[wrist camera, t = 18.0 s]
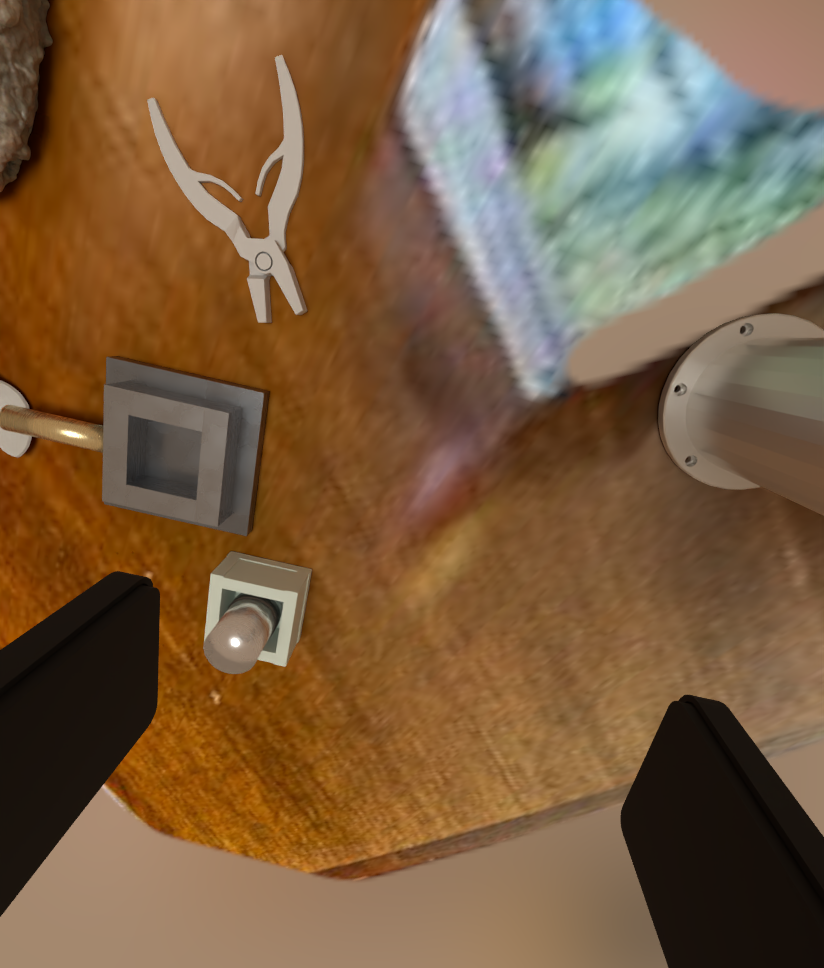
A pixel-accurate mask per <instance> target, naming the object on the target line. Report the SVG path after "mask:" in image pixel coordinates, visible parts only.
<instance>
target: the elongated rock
mask: <svg viewBox="0 0 824 968" xmlns="http://www.w3.org/2000/svg"><path fill="white" fill-rule="evenodd" d="M49 7H50V4H49V2H48V0H0V192H2V191H3V189H4V187H5V185H6V184H7V183H8V182H13V181H14V180H15V179H16V178H17V176H16V174H17V173H18V172H19V169H20V165H21V163H22V160H29V159H30V157H31V150H30V147H29V146H28V144H27V143H28V138H29V136H30V134H31V132H32V128H33V123H34V117H35V112H36V111H37V109H38V101H37V98H38V82H39V79H40V75H39V63H41V61H42V60H43V57H44V54H45V52H44V48H45V47H48V46H50V45H52V42H53V41H52V38H51V36H50V34H49V31H48V27H47V24H46V15H47V11H48V9H49Z"/></svg>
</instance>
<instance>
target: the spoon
mask: <svg viewBox="0 0 824 968" xmlns="http://www.w3.org/2000/svg"><path fill="white" fill-rule="evenodd" d="M7 404H8V405H15V406H19V407H23V408H28V409H30V408H29V405H28V403H27V402H26V400H25V399H24V397H23V396H22V395H21V393H20V392H19V391H17V390H16V389H15V388H14V387H12V386H11V385H10V384H8V383H5V382H3V381H1V380H0V412H1V409H2V408H3V407H4V406H5V405H7ZM31 439H32V436H28V435H23V434H19V433H14V432H10V431H6V430H3V429H2V428H1V427H0V448H1V449H2V450H3V451H5V452H6V453H7V454H9V455H12V456H14V457H20V456H22V455H23V454H24V453H25V452H26V450H27V449H28V447H29V445H30V442H31Z"/></svg>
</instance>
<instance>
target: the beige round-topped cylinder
mask: <svg viewBox="0 0 824 968" xmlns="http://www.w3.org/2000/svg"><path fill="white" fill-rule="evenodd" d="M283 603H284V602H281V601H276V600H272V599H267V598H263V597H258V596H254V595H249V594H245V593H240V594H239V595H238V596H237V597H236V598H235V599H234V600H233V601H232V603H231V604H230V605H229V607H228V609H227V611H226V613H225V614H224V615H223V616H222V618H221V619H220V620H219V622H218V623H217V624H216V626H215V627H214V628H213V629H212V631H211V632H210V633H209V635H208V636H207V637H206V639H205V642H204V653H205V656H206V658H207V659H208V661H209V662H210V663H211V664H212V665H213V666H214V667H215V668H217V669H218V670H220V671H223V672H225V673H230V674H239V673H244V672H246V671H248V670H249V669H251V668H252V667H253V666H254V664H255V663H256V661H257V659H258V657H259V655H260V654H261V652H262V650H263V648H264V646H265V645H266V643H267V641H268V639H269V638H270V636H271V635H272V634H273V633H274V631H275V629H276V628H277V626H278V624H279V622H280V618H281V616H282V610H283Z"/></svg>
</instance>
